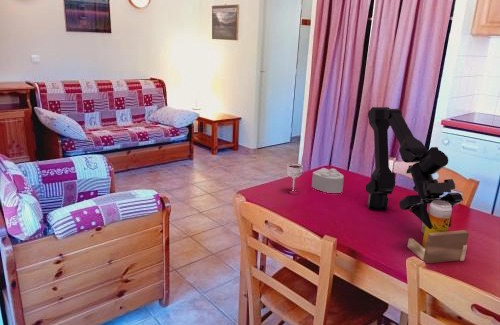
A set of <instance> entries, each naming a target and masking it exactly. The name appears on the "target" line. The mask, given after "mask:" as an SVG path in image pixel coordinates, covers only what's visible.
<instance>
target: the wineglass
mask: <svg viewBox="0 0 500 325" xmlns="http://www.w3.org/2000/svg"><path fill="white" fill-rule="evenodd" d="M286 167H287V168H286V174H287V175H288V176H289V177H290V178H292V191H294V190H295V182H296V179H297V178H299V177H300V176H301V175H302V174H303V172H304V170H303V167H304V165H303V164H302V163H297V162H292V163H288V164H286Z"/></svg>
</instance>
